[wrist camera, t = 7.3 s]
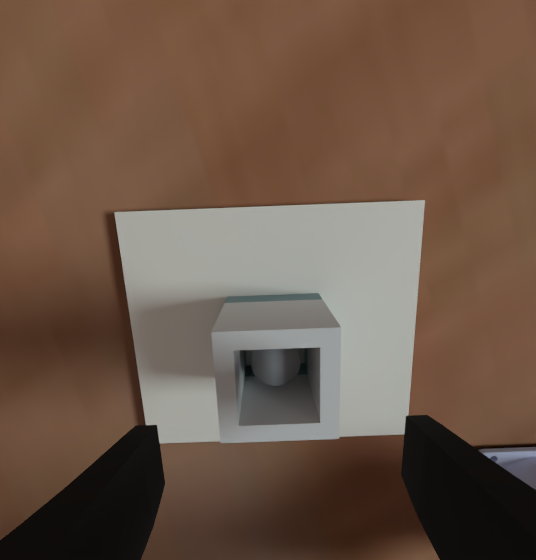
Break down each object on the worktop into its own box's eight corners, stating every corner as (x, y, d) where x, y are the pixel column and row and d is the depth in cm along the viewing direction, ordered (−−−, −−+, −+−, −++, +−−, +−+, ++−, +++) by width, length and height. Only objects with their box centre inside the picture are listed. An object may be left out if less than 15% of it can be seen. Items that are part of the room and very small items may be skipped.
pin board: (415, 201, 16) (471, 196, 12) (399, 422, 19) (439, 485, 15) (123, 212, 16) (70, 211, 12) (154, 432, 19) (121, 496, 15)
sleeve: (318, 293, 16) (341, 327, 11) (318, 375, 17) (339, 438, 12) (227, 296, 16) (211, 332, 11) (233, 378, 17) (220, 443, 12)
